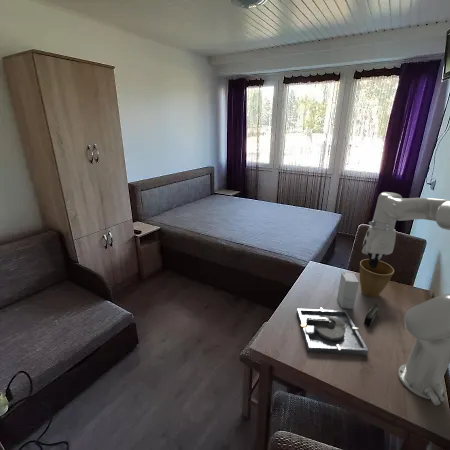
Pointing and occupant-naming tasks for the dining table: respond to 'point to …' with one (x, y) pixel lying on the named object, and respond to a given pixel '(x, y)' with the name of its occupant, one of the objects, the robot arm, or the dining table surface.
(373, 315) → the green cucumber
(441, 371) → the robot arm
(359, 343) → the housing
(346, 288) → the skincare box
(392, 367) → the dining table surface
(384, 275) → the plant pot
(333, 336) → the dial
